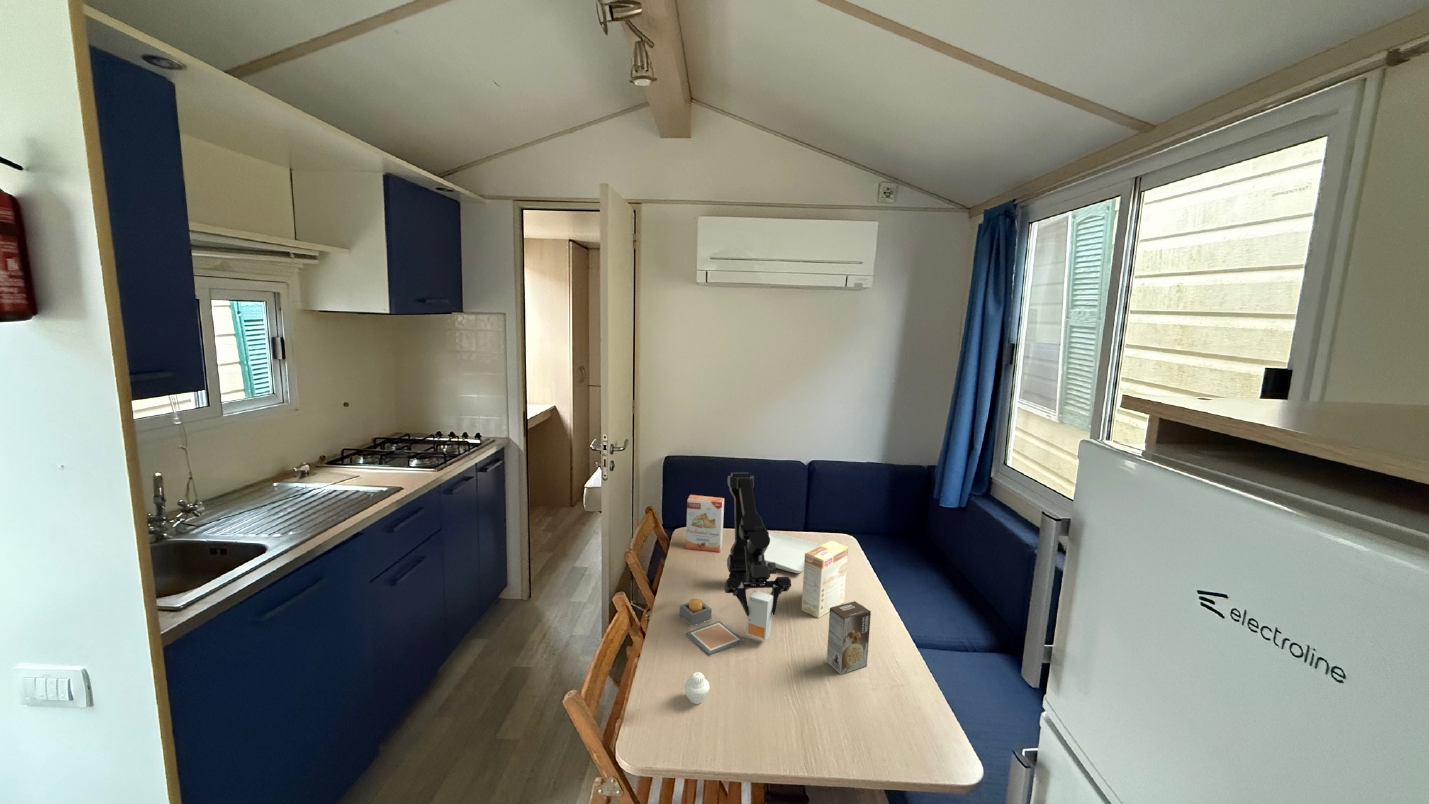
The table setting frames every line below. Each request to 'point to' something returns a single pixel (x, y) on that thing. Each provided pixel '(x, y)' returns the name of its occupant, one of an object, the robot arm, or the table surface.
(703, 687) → the white lidded jar
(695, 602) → the button
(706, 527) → the cracker box
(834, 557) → the coffeecake box
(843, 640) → the coffee box
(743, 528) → the robot arm
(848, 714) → the table surface
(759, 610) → the skincare box
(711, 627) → the picture board
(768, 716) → the table surface
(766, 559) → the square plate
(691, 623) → the button housing
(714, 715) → the table surface
